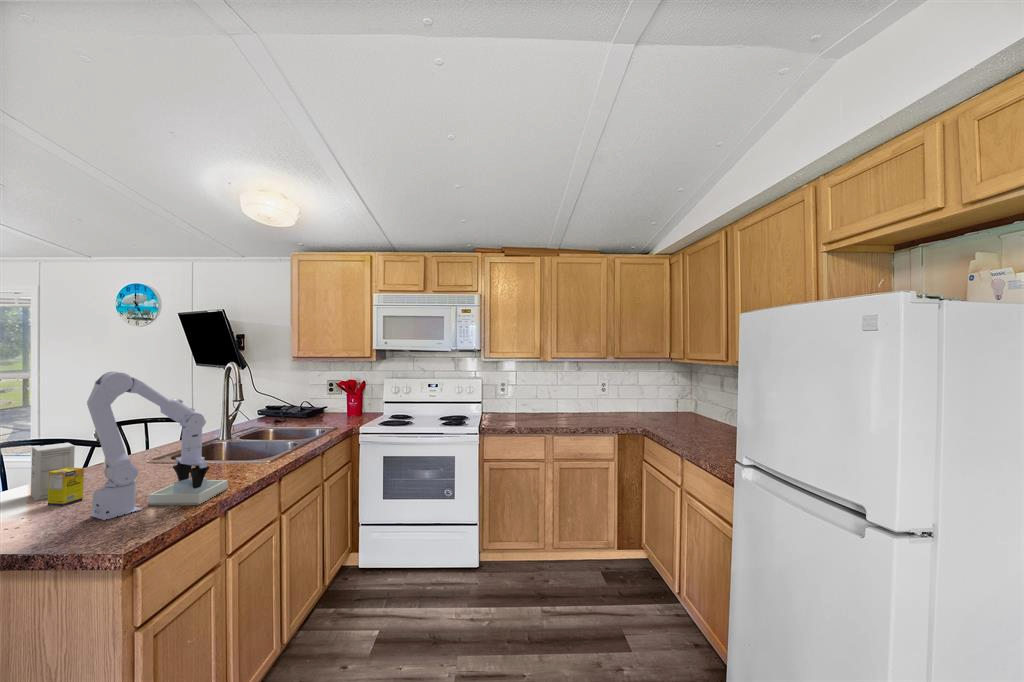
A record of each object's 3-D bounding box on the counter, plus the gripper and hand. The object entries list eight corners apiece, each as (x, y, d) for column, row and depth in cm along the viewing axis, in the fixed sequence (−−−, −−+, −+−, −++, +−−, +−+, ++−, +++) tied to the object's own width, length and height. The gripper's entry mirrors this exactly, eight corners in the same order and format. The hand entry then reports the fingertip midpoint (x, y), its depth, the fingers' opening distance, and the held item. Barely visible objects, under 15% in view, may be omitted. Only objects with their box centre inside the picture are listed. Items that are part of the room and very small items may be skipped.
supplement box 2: (68, 488, 156) (70, 441, 157) (74, 493, 151) (76, 445, 151) (29, 495, 148) (31, 446, 149) (34, 500, 143) (36, 450, 144)
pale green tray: (199, 505, 142) (199, 494, 142) (147, 505, 140) (148, 494, 140) (227, 489, 158) (227, 479, 158) (181, 489, 156) (182, 480, 156)
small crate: (181, 499, 144) (182, 484, 145) (173, 497, 146) (173, 482, 147) (206, 492, 152) (207, 478, 152) (198, 490, 154) (198, 476, 154)
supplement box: (83, 500, 144) (84, 467, 145) (63, 506, 138) (64, 472, 139) (67, 499, 145) (69, 466, 145) (46, 505, 139) (48, 471, 139)
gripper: (216, 446, 150) (215, 485, 150) (191, 442, 156) (190, 480, 156) (195, 450, 144) (193, 491, 143) (169, 446, 150) (168, 485, 149)
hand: (190, 486), depth 149 cm, fingers open, 7 cm apart
